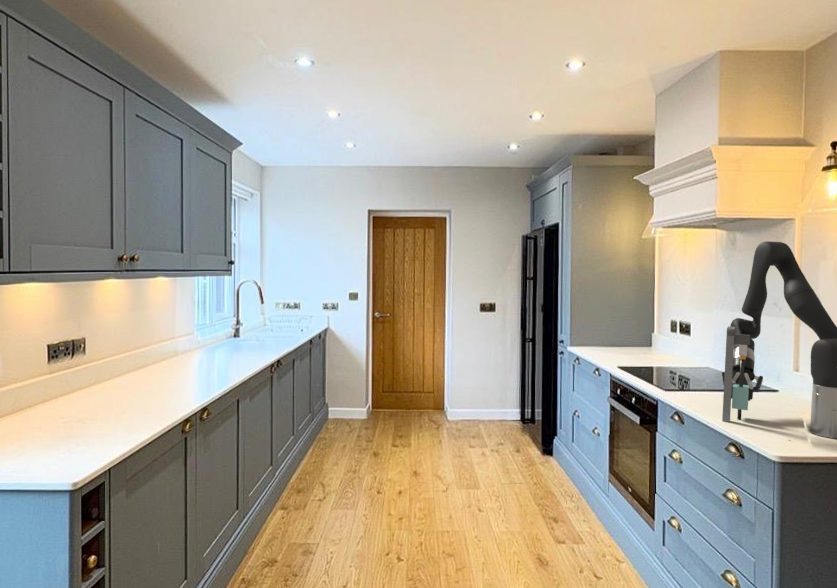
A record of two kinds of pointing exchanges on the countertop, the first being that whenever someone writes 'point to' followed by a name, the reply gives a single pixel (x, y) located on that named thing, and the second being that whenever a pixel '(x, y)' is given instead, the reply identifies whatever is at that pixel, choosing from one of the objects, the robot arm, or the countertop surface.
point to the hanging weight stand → (730, 341)
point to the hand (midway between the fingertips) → (740, 398)
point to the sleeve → (740, 397)
